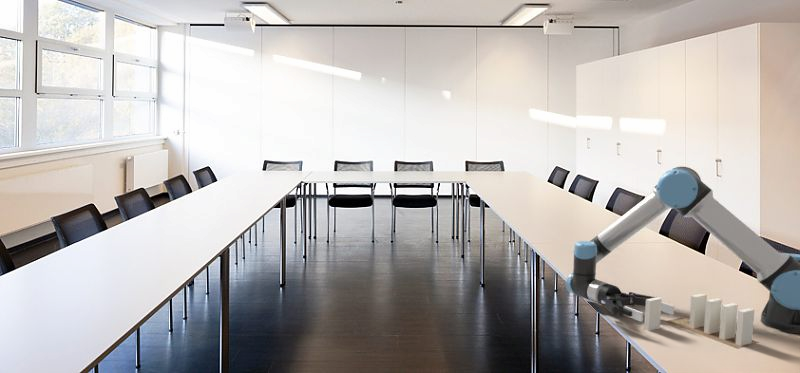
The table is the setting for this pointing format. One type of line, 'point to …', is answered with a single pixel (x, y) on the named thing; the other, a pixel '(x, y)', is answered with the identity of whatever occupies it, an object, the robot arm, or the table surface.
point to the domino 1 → (652, 313)
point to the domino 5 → (744, 326)
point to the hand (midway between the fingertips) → (657, 313)
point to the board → (684, 323)
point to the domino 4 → (728, 321)
